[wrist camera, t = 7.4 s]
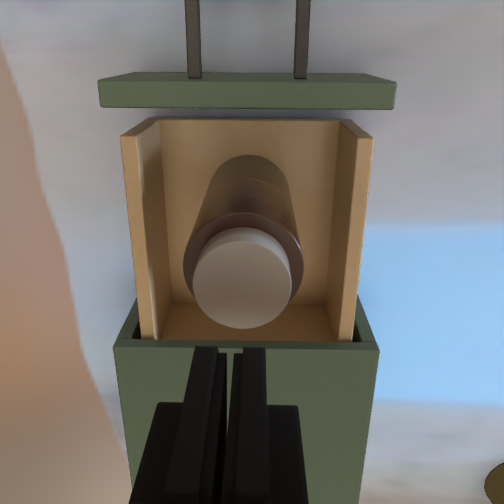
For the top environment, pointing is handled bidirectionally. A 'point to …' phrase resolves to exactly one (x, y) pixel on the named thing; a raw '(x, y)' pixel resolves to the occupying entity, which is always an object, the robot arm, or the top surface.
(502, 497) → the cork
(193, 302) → the drawer
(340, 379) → the cabinet
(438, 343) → the top surface
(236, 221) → the pepper mill
